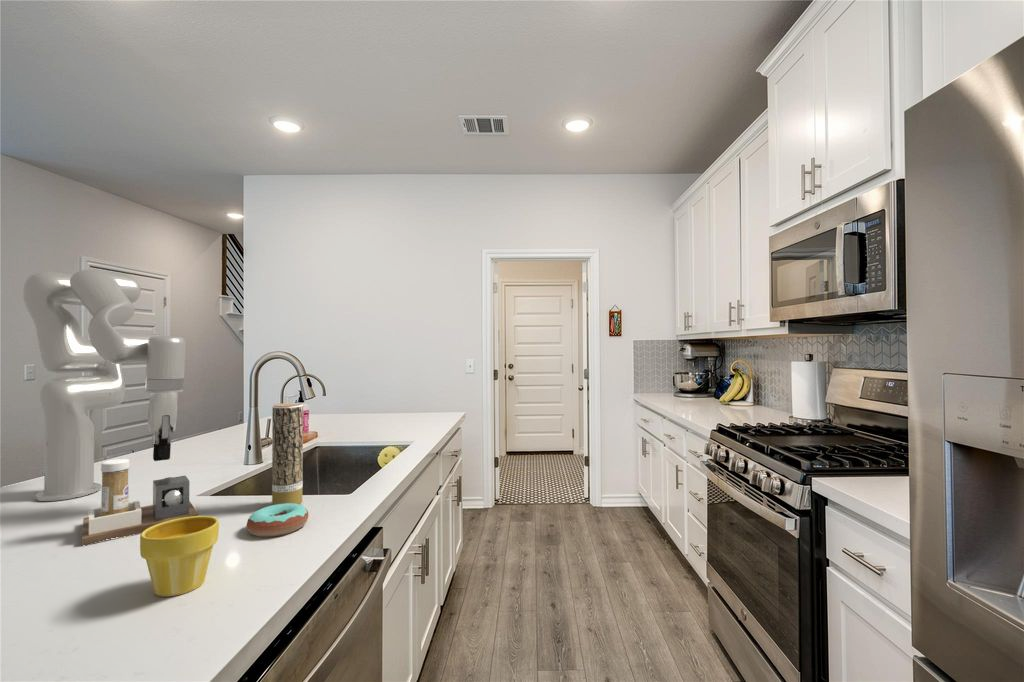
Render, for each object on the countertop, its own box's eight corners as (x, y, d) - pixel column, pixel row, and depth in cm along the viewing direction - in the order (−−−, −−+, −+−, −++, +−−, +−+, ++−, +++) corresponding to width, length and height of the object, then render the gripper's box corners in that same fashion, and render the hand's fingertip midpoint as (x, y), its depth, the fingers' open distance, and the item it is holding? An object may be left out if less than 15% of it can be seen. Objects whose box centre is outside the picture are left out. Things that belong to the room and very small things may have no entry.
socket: (88, 523, 96) (89, 509, 97) (138, 513, 102) (138, 500, 102) (88, 535, 90) (88, 520, 91) (141, 524, 96) (141, 510, 96)
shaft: (154, 501, 105) (154, 479, 105) (180, 496, 108) (180, 475, 108) (159, 513, 97) (159, 490, 97) (187, 507, 100) (188, 485, 100)
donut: (319, 526, 99) (319, 508, 99) (261, 545, 89) (261, 525, 89) (292, 514, 106) (292, 497, 106) (236, 531, 97) (236, 512, 97)
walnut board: (83, 524, 100) (83, 517, 100) (187, 504, 113) (187, 498, 113) (82, 546, 89) (82, 538, 89) (198, 520, 102) (198, 514, 102)
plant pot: (188, 566, 80) (189, 511, 80) (232, 575, 77) (233, 518, 77) (123, 597, 70) (124, 534, 71) (170, 609, 67) (171, 543, 67)
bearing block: (152, 513, 102) (153, 480, 102) (185, 507, 106) (185, 475, 106) (155, 521, 98) (155, 486, 98) (189, 513, 102) (189, 480, 102)
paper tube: (308, 501, 114) (308, 403, 114) (287, 511, 108) (287, 406, 108) (287, 499, 116) (288, 402, 117) (265, 507, 110) (266, 405, 110)
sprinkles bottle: (127, 524, 96) (127, 461, 96) (98, 529, 93) (99, 464, 93) (130, 517, 100) (130, 457, 100) (102, 522, 97) (103, 460, 97)
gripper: (143, 383, 114) (139, 455, 114) (148, 389, 103) (144, 469, 103) (179, 382, 119) (176, 451, 119) (188, 388, 108) (184, 464, 108)
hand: (161, 459), depth 111 cm, fingers closed
